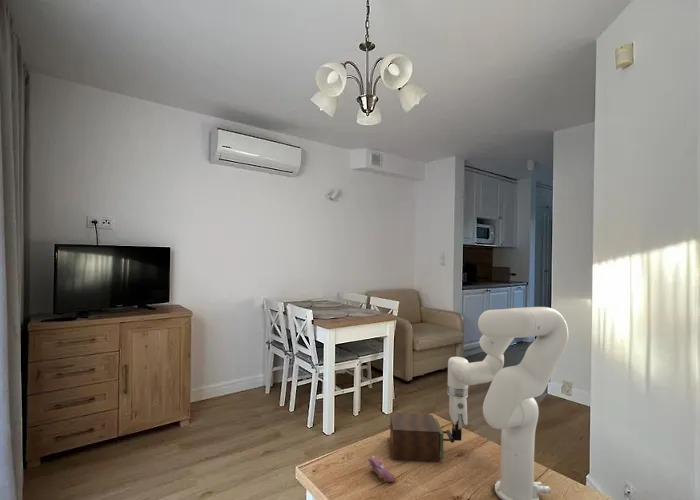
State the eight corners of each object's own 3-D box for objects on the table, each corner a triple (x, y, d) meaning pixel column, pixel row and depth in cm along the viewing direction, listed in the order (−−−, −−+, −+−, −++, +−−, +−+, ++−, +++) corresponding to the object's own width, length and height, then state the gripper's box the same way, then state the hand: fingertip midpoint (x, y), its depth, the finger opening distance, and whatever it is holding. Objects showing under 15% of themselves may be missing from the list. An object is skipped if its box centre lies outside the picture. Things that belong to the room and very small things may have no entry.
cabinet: (431, 441, 146) (432, 414, 146) (438, 461, 132) (439, 431, 132) (390, 439, 147) (390, 412, 147) (392, 459, 132) (393, 429, 133)
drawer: (448, 440, 145) (448, 418, 145) (456, 459, 132) (456, 434, 132) (396, 437, 146) (397, 415, 146) (399, 456, 133) (400, 431, 133)
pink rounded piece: (371, 473, 126) (363, 456, 125) (381, 464, 128) (374, 448, 127) (386, 489, 117) (377, 472, 116) (397, 480, 119) (389, 463, 118)
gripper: (473, 398, 131) (472, 450, 131) (462, 384, 146) (461, 430, 146) (452, 397, 132) (450, 449, 131) (443, 383, 147) (442, 429, 146)
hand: (456, 439), depth 139 cm, fingers closed
